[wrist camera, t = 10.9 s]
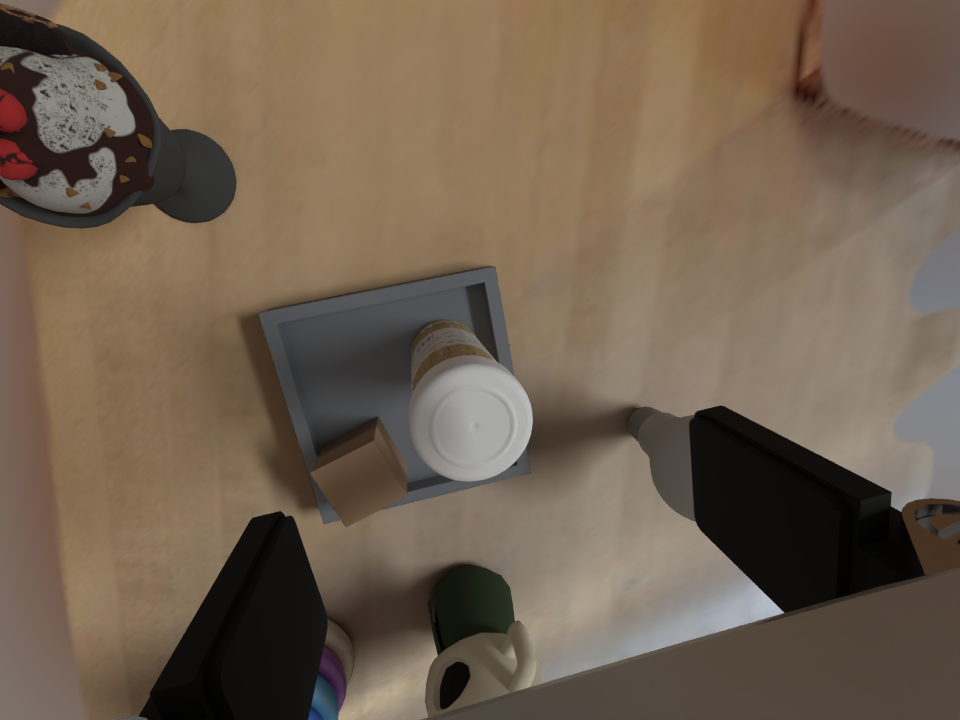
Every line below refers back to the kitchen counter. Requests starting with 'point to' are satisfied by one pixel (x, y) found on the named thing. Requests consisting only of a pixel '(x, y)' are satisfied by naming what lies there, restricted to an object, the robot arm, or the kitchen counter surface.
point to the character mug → (476, 642)
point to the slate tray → (377, 365)
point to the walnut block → (361, 472)
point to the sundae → (93, 135)
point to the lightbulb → (667, 455)
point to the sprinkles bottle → (464, 405)
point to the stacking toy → (332, 675)
